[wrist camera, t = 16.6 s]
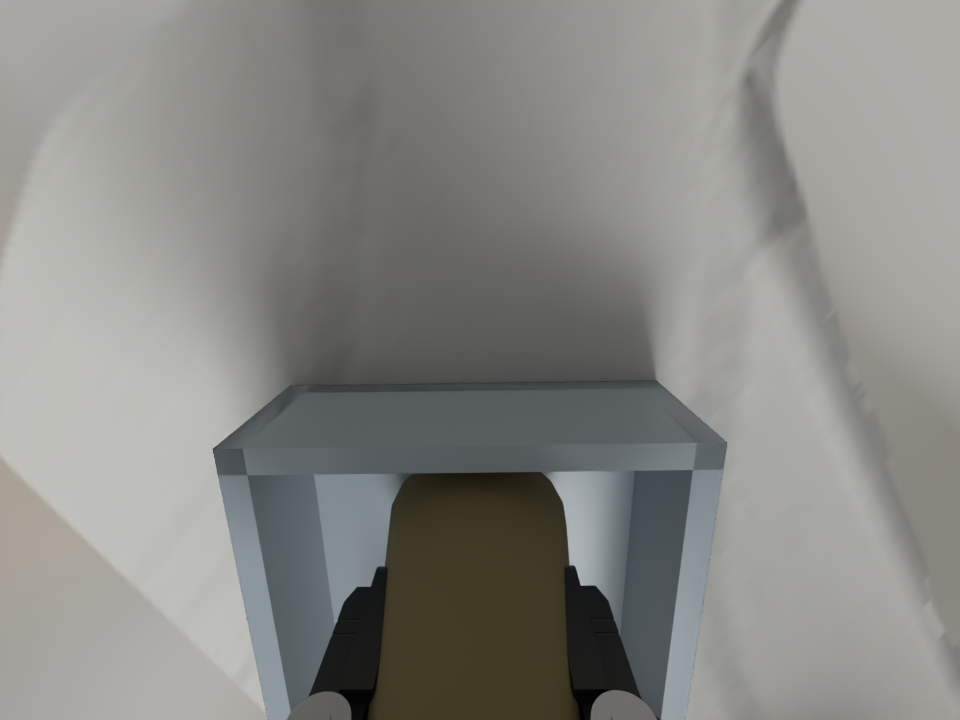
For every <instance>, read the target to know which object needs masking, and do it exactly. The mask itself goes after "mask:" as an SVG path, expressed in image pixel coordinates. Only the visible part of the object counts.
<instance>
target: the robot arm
mask: <svg viewBox="0 0 960 720" xmlns="http://www.w3.org/2000/svg"><path fill="white" fill-rule="evenodd" d="M387 574H388V567H387V566H378V567H377V569H376V571H375V575H374V578H373V581H372V584H371V587H356V589H355V590H354V591H353V592H352V593H351V594H350V595H349V597H348V598H347V599H346V600H345V601H344V603H343V606H342V609H341V611H340V614H339V617H338V621H337V622H336V625H335V627H334V630H333V633H332V637H331V638H330V641H329V643H328V646H327V649H326V652H325V654H324V657H323V660H322V662H321V665H320V668H319V670H318V673H317V676H316V678H315V681H314V684H313V686H312V689H311V692H310V694H309V696H308V698H306V699H305V700H303V701H302V702H301V703H299V704H298V705H297V706H296V707H295V708H294V709H293V710H292V712H291V713H290V714H289V716H288V718H287V719H286V720H367V718H368V709H369V704H370V702H371V700H372V699H373V697H374V691H375V685H376V680H377V674H378V668H379V662H380V657H381V645H382V633H383V621H384V609H385V597H386V586H387ZM564 580H565V607H566V633H567V656H568V663H569V669H570V676H571V683H572V689H573V696H574V698H575V700H576V702H577V703H578V707H579V713H580V720H661V719H659V718H658V717H657V716H656V715H655V714H654V713H653V711H652V710H651V709H650V708H649V706H648V705H647V704H646V703H645V702H644V701H643V699H642V698H641V696H640V693H639V691H638V688H637V685H636V682H635V679H634V676H633V673H632V670H631V667H630V664H629V661H628V658H627V655H626V652H625V649H624V646H623V643H622V640H621V637H620V636H619V631H618V628H617V625H616V622H615V621H614V616H613V613H612V610H611V607H610V604H609V601H608V600H607V598H606V597H605V596H604V595H603V594H602V592H601V591H600V590H599V589H598V588H597V587H596V585H591V586H581V585H580V581H579V577H578V574H577V570H576V567H575V566H574V565H565V567H564Z"/></svg>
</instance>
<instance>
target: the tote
mask: <svg viewBox="0 0 960 720" xmlns="http://www.w3.org/2000/svg"><path fill="white" fill-rule="evenodd" d="M726 447H727V442H726V441H725V440H724V439H723V438H721V437H720V436H719V435H718V434H717V433H716V432H715V431H713V430H712V429H711V428H710V427H709V426H708V425H707V424H705V423H704V422H703V421H702V420H701V419H700V418H699V417H697V416H696V415H695V414H694V413H693V412H692V411H691V410H690V409H688V408H687V407H686V406H685V405H684V404H683V403H682V402H680V401H679V400H678V399H677V398H676V397H675V396H674V395H672V394H671V393H670V392H669V391H668V390H667V389H666V388H664V387H663V386H662V385H661V384H660V383H659V382H658V381H603V382H533V383H463V384H392V385H322V386H289V387H288V388H287V389H286V390H284V391H283V392H282V393H281V394H280V395H278V396H277V397H276V398H275V399H273V400H272V401H271V402H270V403H268V404H267V405H266V406H265V407H264V408H262V409H261V410H260V411H259V412H257V413H256V414H255V415H254V416H253V417H251V418H250V419H249V420H248V421H246V422H245V423H244V424H243V425H242V426H240V427H239V428H238V429H237V430H235V431H234V432H233V433H232V434H231V435H229V436H228V437H227V438H226V439H224V440H223V441H222V442H221V443H219V444H218V445H217V446H216V447H215V448H213V453H214V458H215V463H216V468H217V473H218V478H219V483H220V488H221V493H222V498H223V503H224V507H225V512H226V517H227V522H228V527H229V532H230V537H231V542H232V547H233V552H234V557H235V562H236V567H237V572H238V576H239V581H240V586H241V591H242V596H243V601H244V606H245V611H246V616H247V621H248V626H249V631H250V636H251V641H252V645H253V650H254V655H255V660H256V665H257V670H258V675H259V680H260V685H261V690H262V695H263V700H264V705H265V710H266V714H267V719H268V720H286V719H287V718H288V716H289V714H290V713H291V712H292V710H293V709H294V708H295V707H296V706H297V705H298V704H299V703H301V702H302V701H303V700H305V699H306V698H308V696H309V694H310V692H311V689H312V686H313V684H314V681H315V678H316V676H317V673H318V670H319V668H320V665H321V662H322V660H323V657H324V654H325V652H326V649H327V646H328V643H329V641H330V638H331V637H332V633H333V630H334V627H335V625H336V622H337V621H338V617H339V614H340V611H341V609H342V606H343V603H344V601H345V600H346V599H347V598H348V597H349V595H350V594H351V593H352V592H353V591H354V590H355V589H356V587H371V584H372V581H373V578H374V575H375V571H376V569H377V567H378V566H385V559H386V550H387V542H388V533H389V524H390V515H391V506H392V504H393V502H394V499H395V497H396V495H397V493H398V491H399V489H400V487H401V485H402V483H403V482H404V481H405V480H406V479H407V478H408V477H409V476H410V475H411V474H412V473H490V472H542V473H543V474H544V475H545V476H546V477H547V478H548V479H549V480H551V482H552V484H553V485H554V487H555V489H556V491H557V493H558V494H559V496H560V498H561V500H562V502H563V505H564V511H565V518H566V525H567V536H568V550H569V563H570V565H574V566H575V567H576V570H577V574H578V577H579V581H580V585H581V586H591V585H596V587H597V588H598V589H599V590H600V591H601V592H602V594H603V595H604V596H605V597H606V598H607V600H608V601H609V604H610V607H611V610H612V613H613V616H614V621H615V622H616V625H617V628H618V631H619V636H620V637H621V640H622V643H623V646H624V649H625V652H626V655H627V658H628V661H629V664H630V667H631V670H632V673H633V676H634V679H635V682H636V685H637V688H638V691H639V693H640V696H641V698H642V699H643V701H644V702H645V703H646V704H647V705H648V706H649V708H650V709H651V710H652V711H653V713H654V714H655V715H656V716H657V717H658V718H659V719H661V720H686V713H687V707H688V700H689V693H690V687H691V680H692V673H693V667H694V660H695V654H696V647H697V640H698V634H699V627H700V620H701V614H702V607H703V600H704V594H705V587H706V580H707V574H708V567H709V560H710V554H711V547H712V540H713V534H714V527H715V520H716V514H717V507H718V500H719V494H720V487H721V480H722V474H723V467H724V460H725V454H726Z"/></svg>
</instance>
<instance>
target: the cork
mask: <svg viewBox="0 0 960 720" xmlns="http://www.w3.org/2000/svg"><path fill="white" fill-rule="evenodd" d="M565 565H570V563H569V550H568V536H567V525H566V518H565V511H564V505H563V502H562V500H561V498H560V496H559V494H558V493H557V491H556V489H555V487H554V485H553V484H552V482H551V480H549V479H548V478H547V477H546V476H545V475H544V474H543V473H542V472H490V473H412V474H411V475H410V476H409V477H408V478H407V479H406V480H405V481H404V482H403V483H402V485H401V487H400V489H399V491H398V493H397V495H396V497H395V499H394V502H393V504H392V506H391V515H390V524H389V533H388V542H387V550H386V559H385V566H387V567H388V574H387V586H386V597H385V609H384V621H383V633H382V645H381V657H380V662H379V668H378V674H377V680H376V685H375V691H374V697H373V699H372V700H371V702H370V704H369V709H368V718H367V720H580V713H579V707H578V703H577V702H576V700H575V698H574V696H573V689H572V683H571V676H570V669H569V663H568V656H567V633H566V607H565V580H564V567H565Z"/></svg>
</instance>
